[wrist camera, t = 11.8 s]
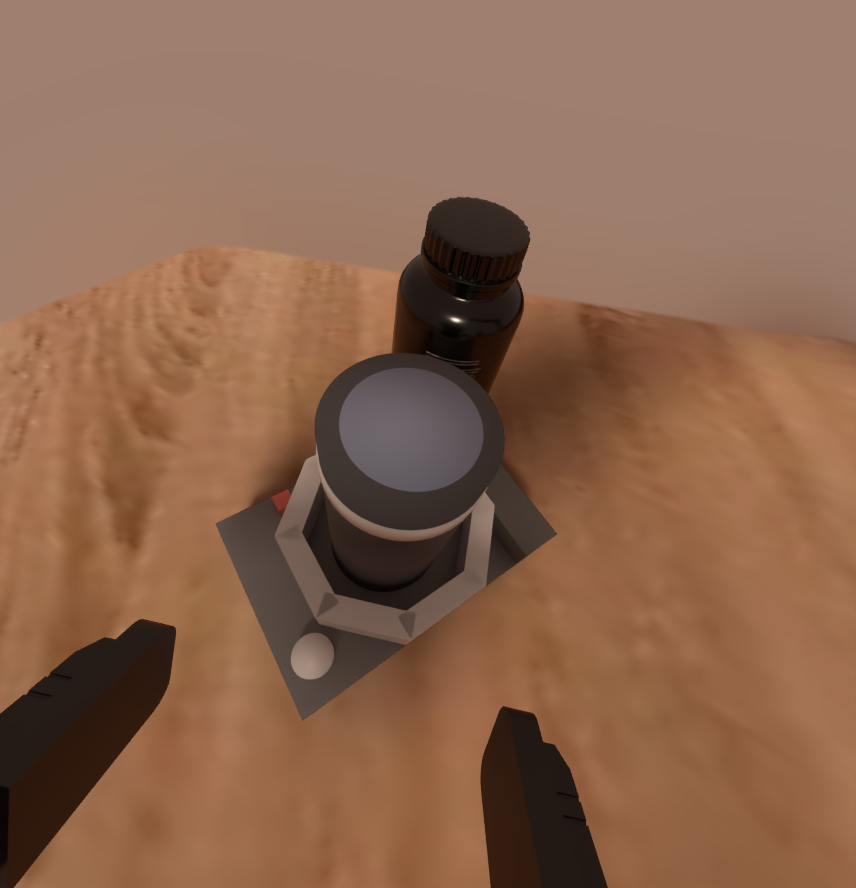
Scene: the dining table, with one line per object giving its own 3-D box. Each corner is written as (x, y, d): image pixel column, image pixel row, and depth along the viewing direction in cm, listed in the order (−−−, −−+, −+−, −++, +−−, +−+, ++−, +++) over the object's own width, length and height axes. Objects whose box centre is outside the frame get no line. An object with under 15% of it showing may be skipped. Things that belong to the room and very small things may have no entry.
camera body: (435, 440, 26) (450, 392, 22) (523, 558, 23) (561, 530, 18) (232, 542, 21) (200, 507, 16) (310, 714, 17) (295, 725, 13)
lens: (403, 471, 21) (439, 330, 12) (457, 555, 19) (544, 459, 11) (311, 518, 19) (278, 387, 10) (363, 616, 17) (376, 558, 8)
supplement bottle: (500, 390, 29) (579, 232, 19) (447, 450, 26) (507, 298, 15) (426, 340, 30) (462, 168, 20) (366, 392, 27) (372, 217, 17)
